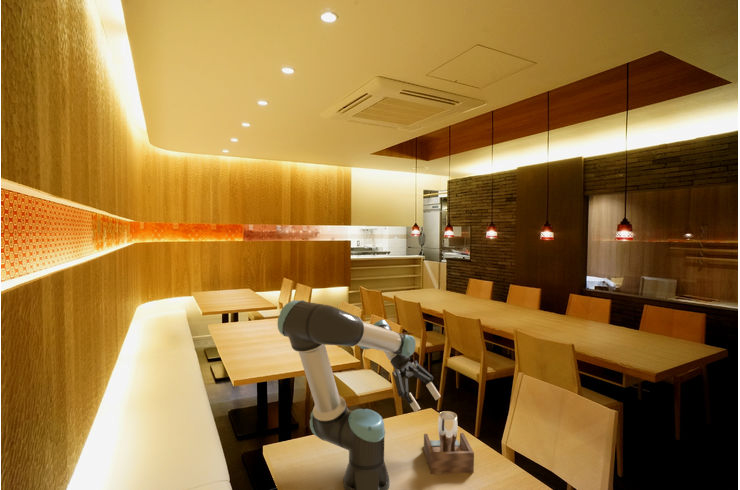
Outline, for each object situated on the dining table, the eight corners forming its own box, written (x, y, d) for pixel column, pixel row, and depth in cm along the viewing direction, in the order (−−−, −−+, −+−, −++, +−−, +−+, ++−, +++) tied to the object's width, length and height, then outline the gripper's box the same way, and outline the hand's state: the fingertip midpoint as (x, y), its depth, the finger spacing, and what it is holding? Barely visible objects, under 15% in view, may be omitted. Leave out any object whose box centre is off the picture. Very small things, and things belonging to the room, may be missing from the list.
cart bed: (430, 473, 137) (431, 454, 137) (421, 445, 154) (422, 428, 154) (473, 472, 138) (474, 452, 138) (459, 444, 155) (460, 427, 154)
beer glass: (434, 451, 147) (434, 412, 146) (451, 448, 149) (451, 409, 148) (443, 462, 140) (443, 421, 139) (460, 459, 142) (461, 418, 141)
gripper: (410, 353, 169) (440, 398, 160) (371, 369, 151) (402, 420, 142) (421, 343, 165) (452, 389, 156) (382, 358, 147) (414, 411, 138)
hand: (428, 404), depth 149 cm, fingers open, 13 cm apart
